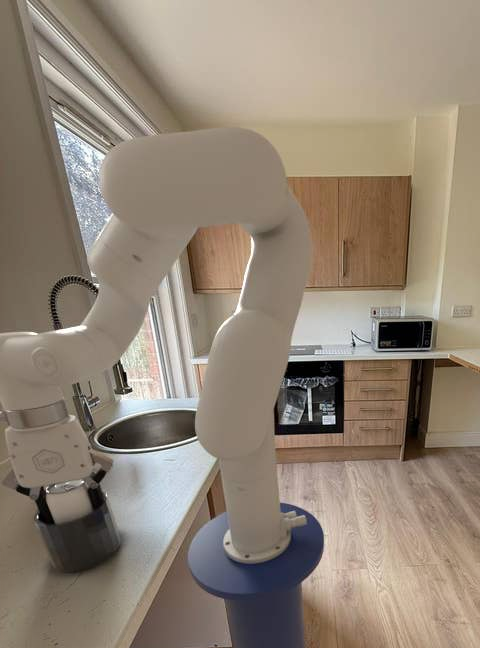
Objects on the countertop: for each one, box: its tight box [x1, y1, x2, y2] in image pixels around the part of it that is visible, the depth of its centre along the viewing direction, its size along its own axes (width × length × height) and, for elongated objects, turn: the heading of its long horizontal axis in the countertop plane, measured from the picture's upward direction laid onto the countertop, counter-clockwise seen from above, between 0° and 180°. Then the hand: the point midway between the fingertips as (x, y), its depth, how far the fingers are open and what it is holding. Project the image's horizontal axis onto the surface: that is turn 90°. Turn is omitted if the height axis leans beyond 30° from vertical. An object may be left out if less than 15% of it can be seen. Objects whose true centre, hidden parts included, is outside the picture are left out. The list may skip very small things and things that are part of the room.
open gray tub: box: [33, 490, 122, 574], centre depth 63 cm, size 11×11×10 cm
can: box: [45, 479, 95, 524], centre depth 62 cm, size 6×6×12 cm
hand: (74, 508), depth 61 cm, fingers closed on can, 6 cm apart
